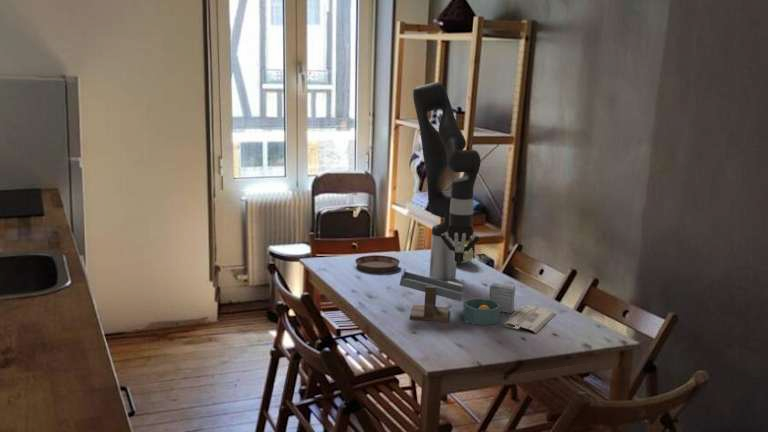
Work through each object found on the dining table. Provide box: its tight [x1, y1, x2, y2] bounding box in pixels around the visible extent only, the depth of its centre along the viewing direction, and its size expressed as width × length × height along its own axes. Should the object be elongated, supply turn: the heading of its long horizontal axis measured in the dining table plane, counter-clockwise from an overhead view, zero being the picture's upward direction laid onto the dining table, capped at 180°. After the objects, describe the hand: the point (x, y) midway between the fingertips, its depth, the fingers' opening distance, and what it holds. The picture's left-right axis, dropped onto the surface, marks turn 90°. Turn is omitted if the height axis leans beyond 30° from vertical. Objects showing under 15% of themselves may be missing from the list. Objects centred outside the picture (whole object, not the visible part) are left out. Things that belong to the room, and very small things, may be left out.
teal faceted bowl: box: [462, 297, 501, 326], centre depth 228 cm, size 11×12×5 cm
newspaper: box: [503, 304, 557, 334], centre depth 229 cm, size 23×12×2 cm, turn 151°
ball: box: [478, 305, 490, 310], centre depth 228 cm, size 4×4×4 cm
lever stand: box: [409, 276, 450, 323], centre depth 229 cm, size 11×12×11 cm
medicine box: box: [488, 282, 516, 314], centre depth 236 cm, size 8×4×9 cm, turn 71°
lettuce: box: [458, 240, 474, 264], centre depth 292 cm, size 12×21×11 cm, turn 21°
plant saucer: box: [354, 254, 400, 273], centre depth 281 cm, size 18×18×3 cm
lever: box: [399, 267, 464, 302], centre depth 231 cm, size 15×20×5 cm
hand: (458, 262), depth 234 cm, fingers closed
